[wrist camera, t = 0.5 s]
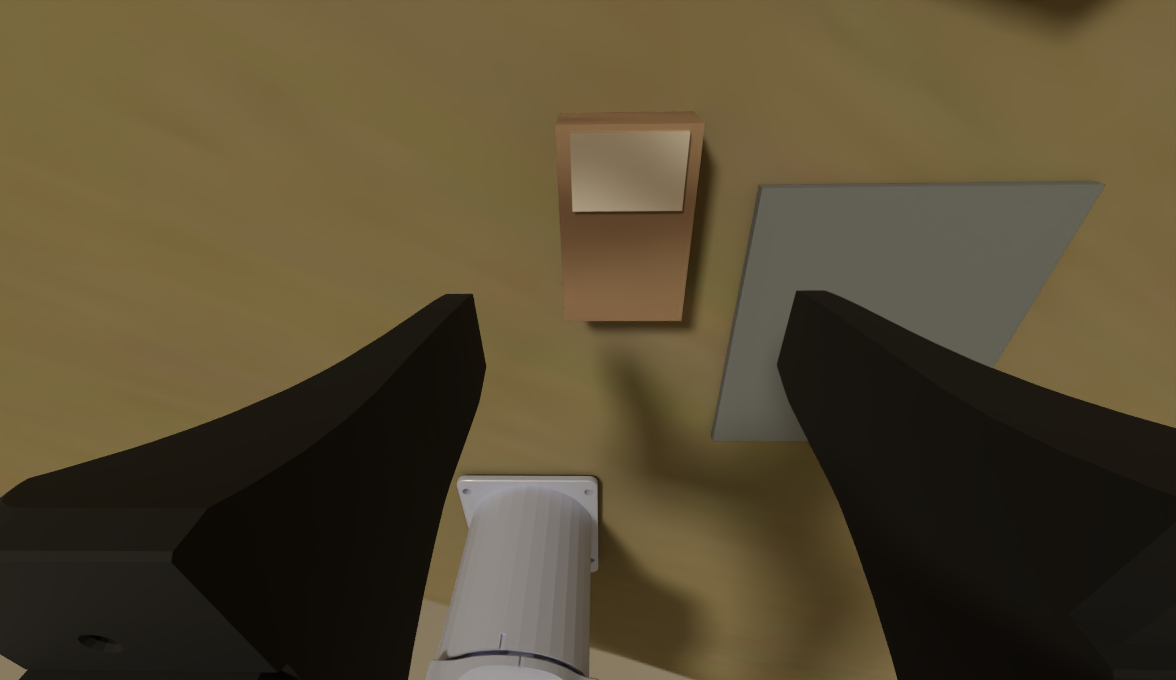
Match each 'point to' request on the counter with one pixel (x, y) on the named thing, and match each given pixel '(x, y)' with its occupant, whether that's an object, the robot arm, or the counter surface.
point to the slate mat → (890, 273)
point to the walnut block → (626, 212)
